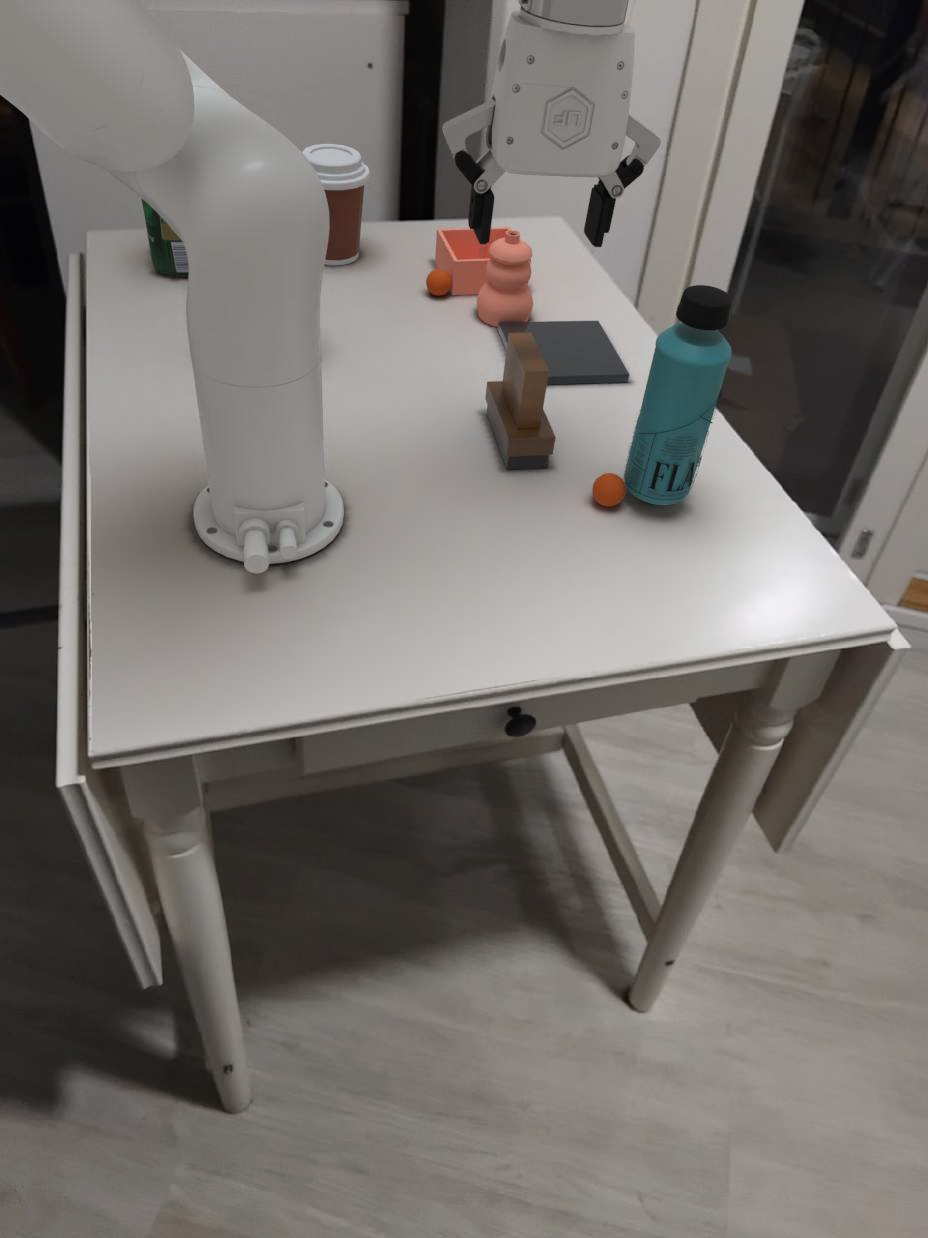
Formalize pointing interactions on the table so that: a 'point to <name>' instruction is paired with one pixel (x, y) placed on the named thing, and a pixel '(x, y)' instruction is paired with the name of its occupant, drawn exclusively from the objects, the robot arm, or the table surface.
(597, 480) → the felt ball
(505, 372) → the brush
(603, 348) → the slate tile
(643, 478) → the beverage bottle
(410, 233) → the table surface
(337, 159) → the coffee cup
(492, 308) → the pottery
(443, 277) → the felt ball
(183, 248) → the coffee jar
